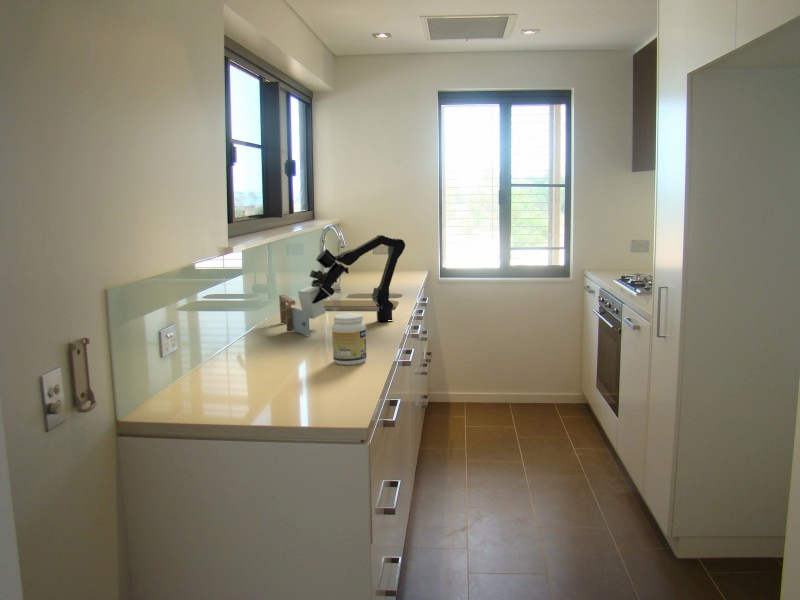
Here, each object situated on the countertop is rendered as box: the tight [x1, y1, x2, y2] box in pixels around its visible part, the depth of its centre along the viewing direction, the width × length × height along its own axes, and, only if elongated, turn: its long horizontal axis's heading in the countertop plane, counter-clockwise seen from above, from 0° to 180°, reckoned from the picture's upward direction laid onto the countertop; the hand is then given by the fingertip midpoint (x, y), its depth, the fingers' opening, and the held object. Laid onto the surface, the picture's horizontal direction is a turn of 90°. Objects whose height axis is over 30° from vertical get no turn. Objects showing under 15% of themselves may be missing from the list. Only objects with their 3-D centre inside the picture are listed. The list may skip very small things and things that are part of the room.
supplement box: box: [297, 286, 326, 320], centre depth 313 cm, size 7×7×13 cm
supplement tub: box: [331, 312, 368, 366], centre depth 251 cm, size 12×12×17 cm
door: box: [291, 307, 311, 337], centre depth 303 cm, size 16×2×10 cm, turn 32°
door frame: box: [278, 294, 296, 332], centre depth 318 cm, size 22×4×14 cm, turn 22°
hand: (310, 301), depth 312 cm, fingers closed on supplement box, 9 cm apart
